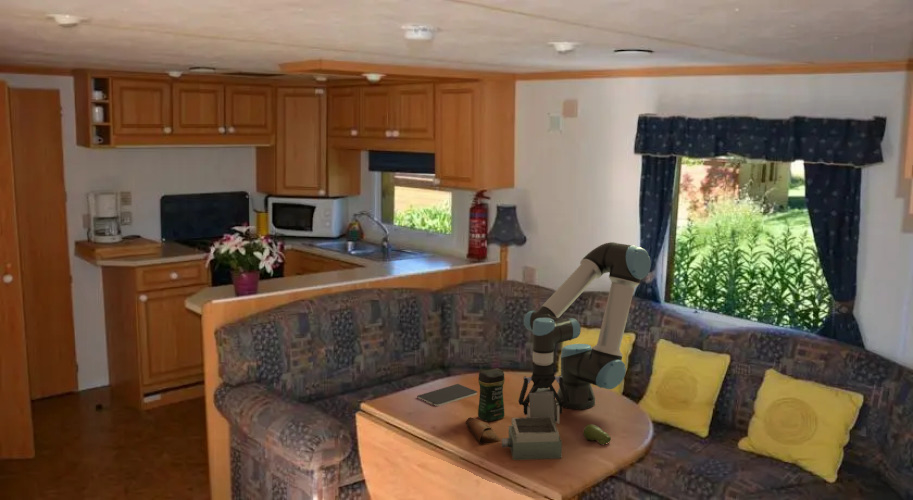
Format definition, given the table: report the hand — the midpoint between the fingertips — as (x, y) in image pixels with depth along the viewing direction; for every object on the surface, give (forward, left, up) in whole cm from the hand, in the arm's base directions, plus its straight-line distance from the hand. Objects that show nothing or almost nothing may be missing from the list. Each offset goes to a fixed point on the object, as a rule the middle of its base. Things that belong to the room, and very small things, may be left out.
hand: (542, 422), depth 288 cm
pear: (-18, +9, -4) cm, 20 cm away
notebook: (+33, -39, -4) cm, 51 cm away
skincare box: (0, 0, -4) cm, 4 cm away
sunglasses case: (+21, 0, -4) cm, 22 cm away
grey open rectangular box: (+7, +15, -4) cm, 17 cm away
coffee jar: (+17, -15, -4) cm, 23 cm away
